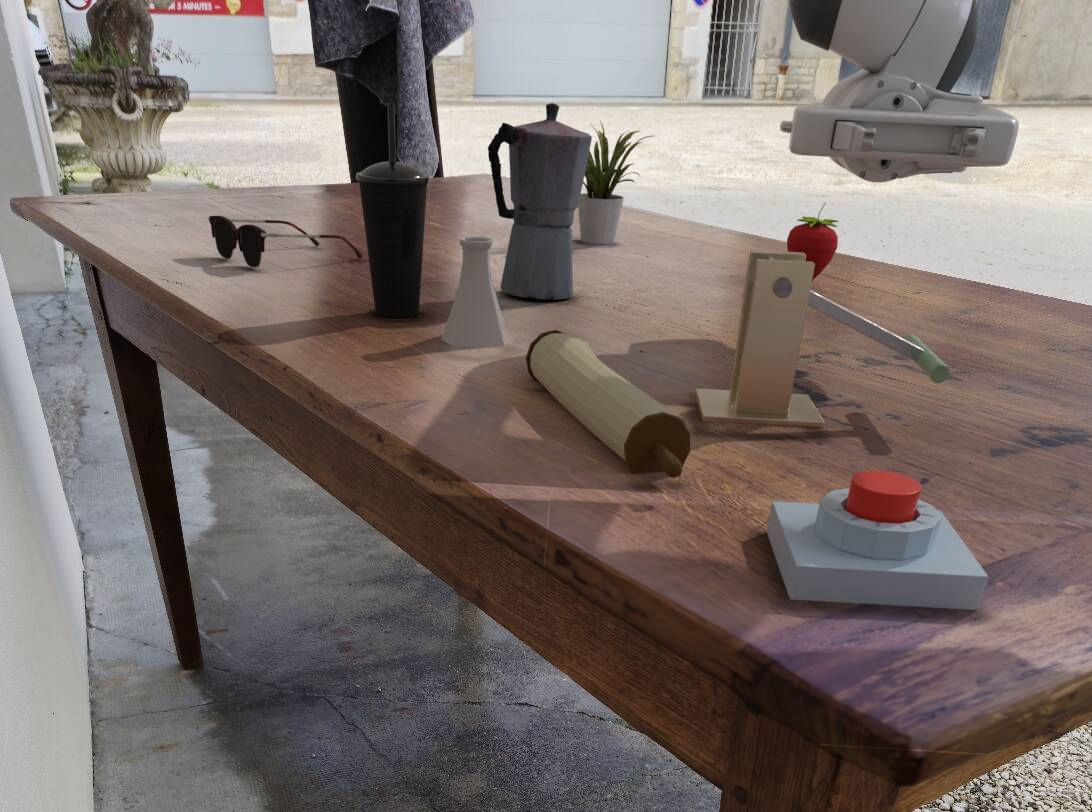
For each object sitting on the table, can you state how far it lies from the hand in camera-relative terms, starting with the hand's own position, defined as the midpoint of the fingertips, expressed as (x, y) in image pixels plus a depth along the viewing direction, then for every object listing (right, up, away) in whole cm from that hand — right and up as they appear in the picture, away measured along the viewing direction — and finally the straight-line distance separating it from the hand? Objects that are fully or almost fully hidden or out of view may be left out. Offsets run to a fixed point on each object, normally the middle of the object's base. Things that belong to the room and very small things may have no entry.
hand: (919, 142), depth 90 cm
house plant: (-22, +26, +71) cm, 79 cm away
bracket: (-14, -24, -1) cm, 28 cm away
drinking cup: (-49, -4, +26) cm, 56 cm away
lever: (-8, -18, -5) cm, 21 cm away
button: (-13, -39, -27) cm, 49 cm away
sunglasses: (-66, +14, +50) cm, 84 cm away
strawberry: (+2, +8, +48) cm, 48 cm away
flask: (-39, -12, +15) cm, 44 cm away
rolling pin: (-28, -27, -5) cm, 39 cm away
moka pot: (-33, +3, +37) cm, 50 cm away
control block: (-13, -41, -25) cm, 50 cm away
